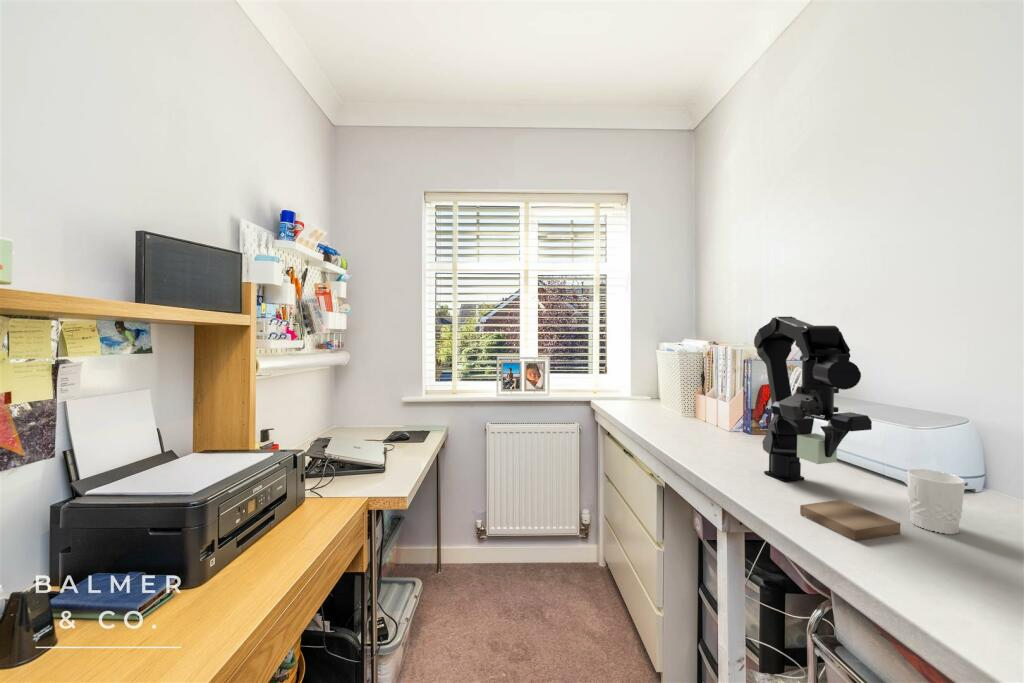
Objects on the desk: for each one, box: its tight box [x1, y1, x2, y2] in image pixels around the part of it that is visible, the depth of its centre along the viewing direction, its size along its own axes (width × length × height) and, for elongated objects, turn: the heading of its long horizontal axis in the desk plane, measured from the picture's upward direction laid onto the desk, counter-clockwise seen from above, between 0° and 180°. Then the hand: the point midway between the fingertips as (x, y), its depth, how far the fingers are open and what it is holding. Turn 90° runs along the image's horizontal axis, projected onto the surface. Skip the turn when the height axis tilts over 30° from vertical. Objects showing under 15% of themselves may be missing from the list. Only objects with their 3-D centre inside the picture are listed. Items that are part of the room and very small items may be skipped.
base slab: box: [799, 499, 901, 542], centre depth 83 cm, size 11×11×2 cm
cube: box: [797, 432, 838, 465], centre depth 92 cm, size 5×5×5 cm
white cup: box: [906, 468, 966, 535], centre depth 81 cm, size 8×8×10 cm
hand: (816, 453), depth 92 cm, fingers closed on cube, 5 cm apart
